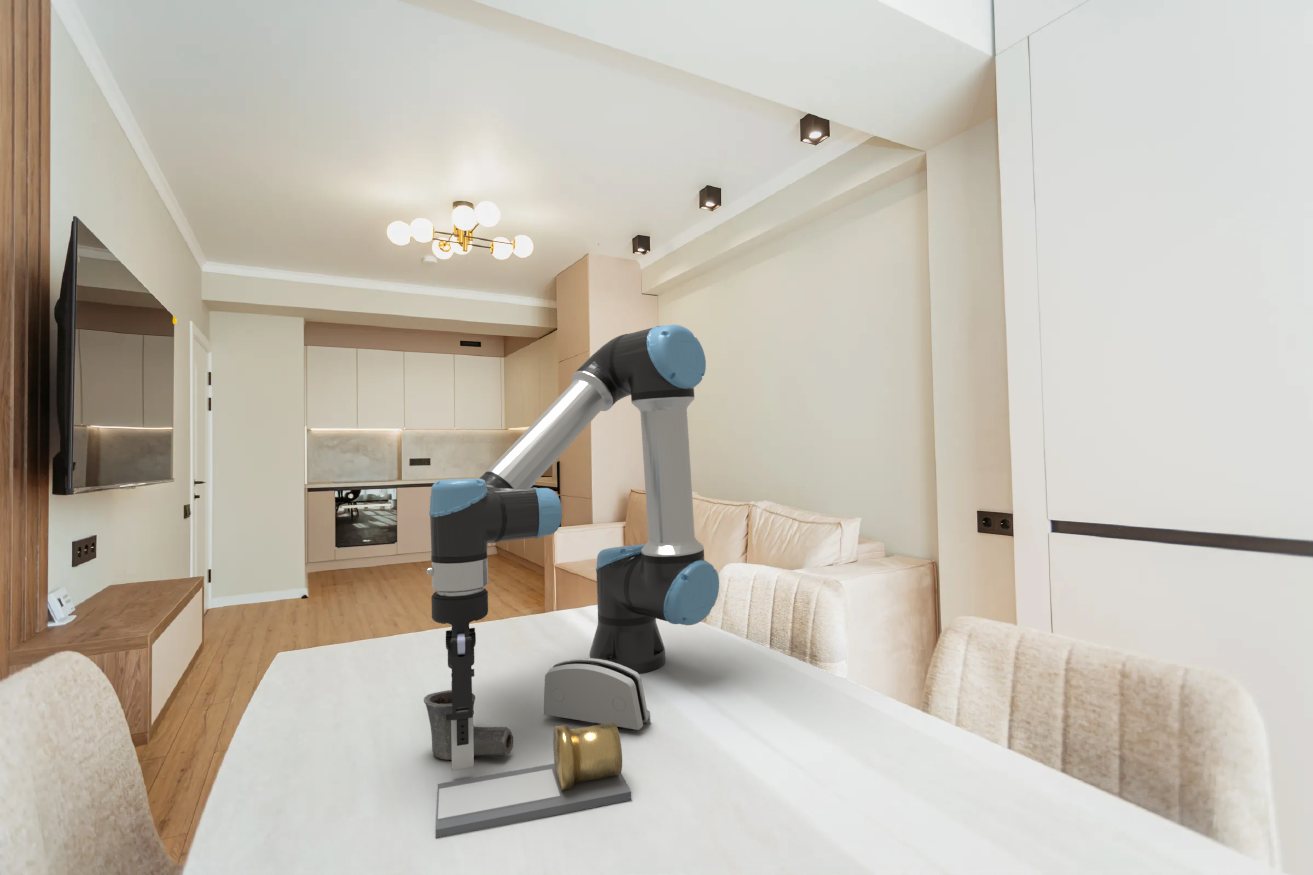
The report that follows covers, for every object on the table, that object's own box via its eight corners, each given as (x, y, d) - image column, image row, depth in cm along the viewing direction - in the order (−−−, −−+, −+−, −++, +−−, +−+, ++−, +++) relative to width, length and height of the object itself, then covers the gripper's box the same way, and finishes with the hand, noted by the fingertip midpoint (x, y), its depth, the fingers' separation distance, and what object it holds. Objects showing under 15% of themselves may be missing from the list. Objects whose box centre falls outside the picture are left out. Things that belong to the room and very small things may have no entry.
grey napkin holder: (653, 723, 96) (648, 660, 95) (640, 739, 91) (636, 674, 91) (558, 708, 102) (553, 649, 101) (542, 723, 98) (537, 661, 97)
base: (611, 760, 84) (611, 751, 84) (631, 799, 75) (631, 789, 75) (437, 791, 77) (437, 782, 77) (435, 838, 68) (435, 827, 68)
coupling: (610, 763, 83) (608, 708, 83) (624, 791, 76) (622, 731, 76) (553, 773, 80) (552, 716, 81) (563, 803, 74) (562, 741, 74)
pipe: (500, 770, 82) (499, 709, 83) (413, 762, 85) (412, 703, 85) (519, 748, 88) (518, 691, 89) (437, 742, 91) (437, 686, 91)
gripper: (434, 575, 98) (435, 713, 97) (427, 613, 74) (430, 795, 74) (483, 571, 100) (485, 706, 100) (492, 607, 77) (495, 783, 76)
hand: (462, 744), depth 87 cm, fingers open, 13 cm apart
